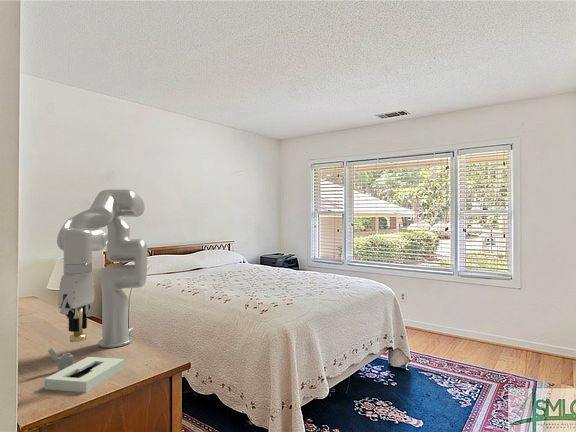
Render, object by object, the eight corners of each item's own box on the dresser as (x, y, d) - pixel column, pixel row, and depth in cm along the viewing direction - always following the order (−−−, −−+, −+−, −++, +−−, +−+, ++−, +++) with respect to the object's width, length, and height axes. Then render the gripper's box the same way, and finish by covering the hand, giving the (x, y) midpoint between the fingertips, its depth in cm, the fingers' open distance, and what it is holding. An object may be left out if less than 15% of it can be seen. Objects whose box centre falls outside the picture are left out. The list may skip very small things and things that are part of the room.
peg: (77, 337, 114) (77, 303, 114) (89, 337, 113) (89, 304, 113) (66, 341, 110) (66, 306, 110) (79, 342, 109) (79, 307, 109)
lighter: (72, 367, 124) (72, 343, 124) (73, 369, 122) (73, 344, 123) (47, 372, 120) (47, 348, 120) (47, 374, 118) (47, 349, 118)
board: (88, 365, 125) (88, 356, 125) (125, 368, 123) (125, 359, 123) (44, 389, 108) (44, 378, 108) (86, 392, 105) (86, 381, 105)
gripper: (86, 266, 120) (86, 322, 120) (45, 272, 105) (45, 337, 104) (106, 266, 119) (106, 323, 119) (68, 273, 103) (68, 338, 103)
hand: (77, 329), depth 111 cm, fingers closed on peg, 2 cm apart
